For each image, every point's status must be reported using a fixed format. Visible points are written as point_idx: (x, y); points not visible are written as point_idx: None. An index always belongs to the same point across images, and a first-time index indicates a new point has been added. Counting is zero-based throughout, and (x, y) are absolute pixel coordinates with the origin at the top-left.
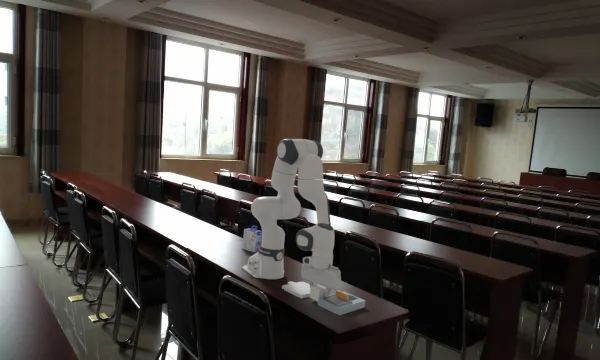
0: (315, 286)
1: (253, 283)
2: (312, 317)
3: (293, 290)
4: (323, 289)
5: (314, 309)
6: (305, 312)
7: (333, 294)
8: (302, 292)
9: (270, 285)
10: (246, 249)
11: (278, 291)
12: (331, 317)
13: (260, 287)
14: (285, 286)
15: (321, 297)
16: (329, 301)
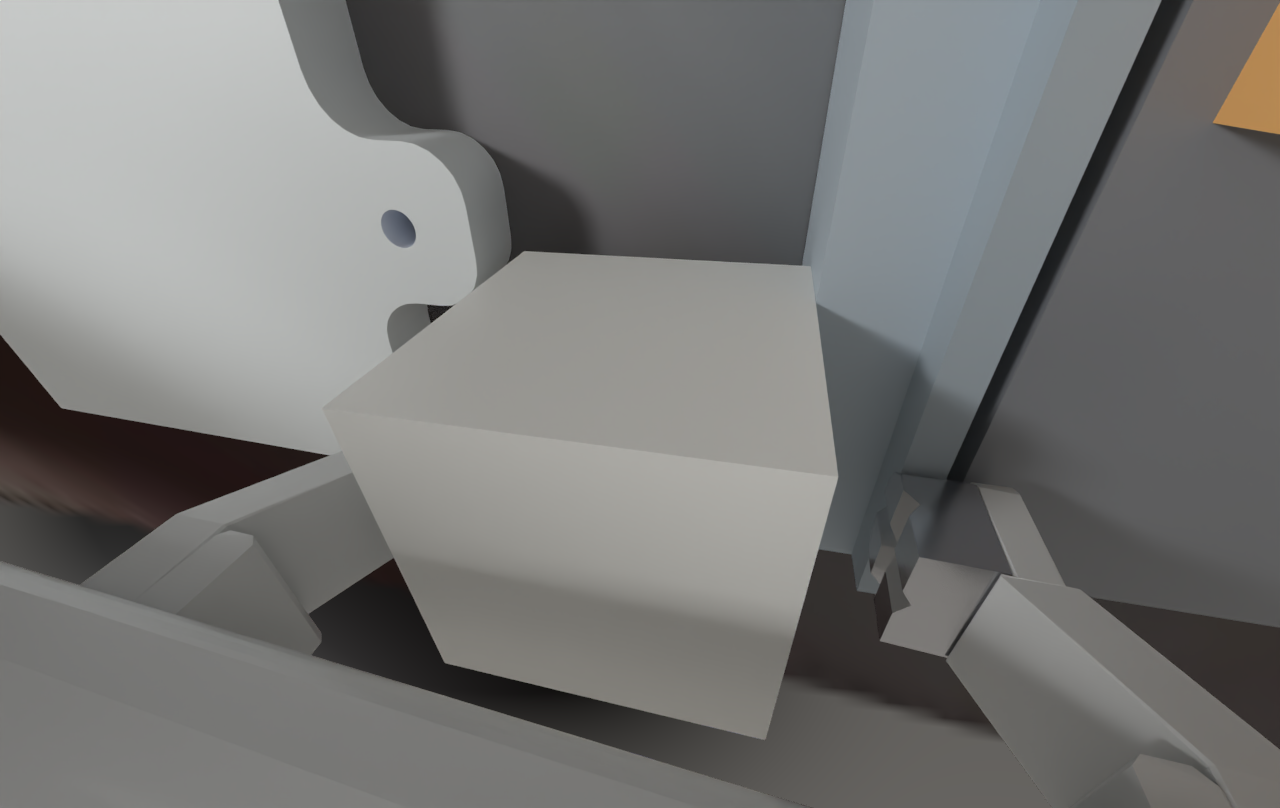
0: (495, 621)
1: (27, 491)
2: (958, 720)
3: (241, 427)
4: (794, 622)
5: (841, 577)
6: (816, 675)
7: (1066, 99)
8: (328, 384)
9: (32, 410)
10: None
11: (213, 470)
12: (1226, 634)
13: (123, 514)
14: (91, 400)
15: (859, 590)
16: (1128, 587)
